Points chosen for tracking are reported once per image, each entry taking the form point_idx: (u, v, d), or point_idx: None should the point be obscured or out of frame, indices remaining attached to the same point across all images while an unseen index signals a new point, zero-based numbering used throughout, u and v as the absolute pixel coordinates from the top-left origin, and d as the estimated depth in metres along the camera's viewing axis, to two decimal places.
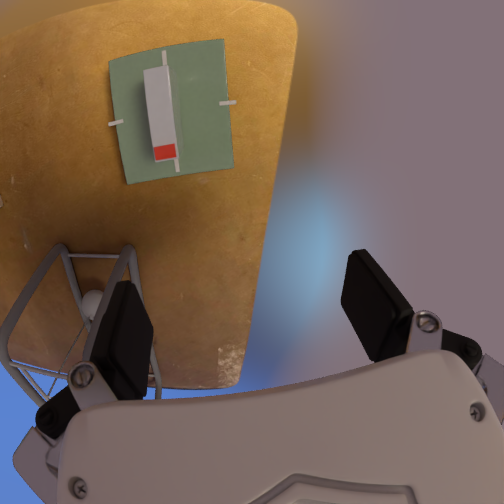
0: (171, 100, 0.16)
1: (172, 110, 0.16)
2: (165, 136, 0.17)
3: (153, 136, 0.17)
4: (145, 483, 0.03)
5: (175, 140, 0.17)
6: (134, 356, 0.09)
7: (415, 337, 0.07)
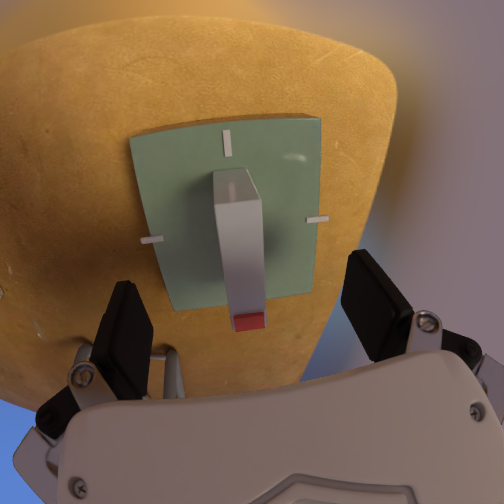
0: (263, 257, 0.12)
1: (264, 271, 0.12)
2: (250, 304, 0.13)
3: (232, 304, 0.13)
4: (145, 483, 0.03)
5: (264, 308, 0.13)
6: (134, 356, 0.09)
7: (415, 337, 0.07)
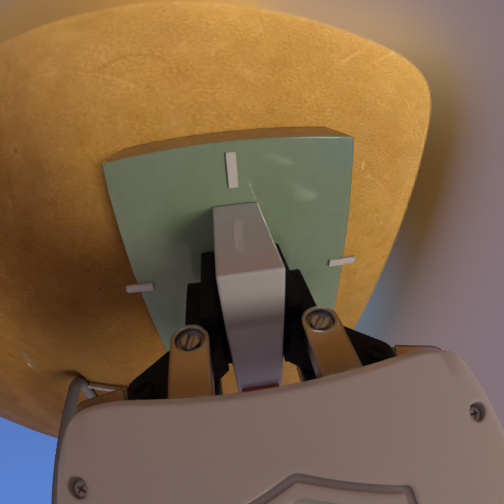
0: None
1: (282, 347, 0.09)
2: (263, 378, 0.10)
3: (241, 379, 0.10)
4: (145, 483, 0.03)
5: (280, 380, 0.10)
6: None
7: (316, 341, 0.07)
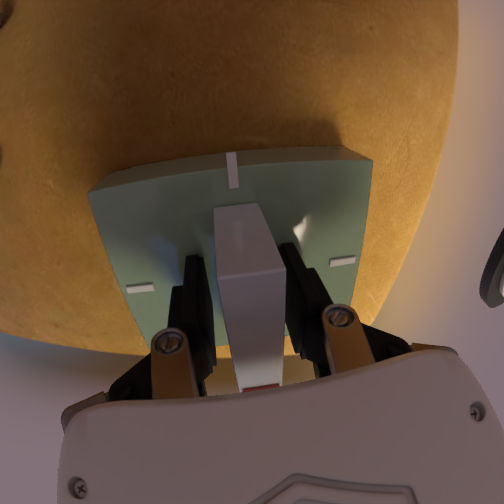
0: None
1: (282, 347, 0.09)
2: (264, 379, 0.10)
3: (242, 380, 0.10)
4: (145, 483, 0.03)
5: (280, 380, 0.10)
6: (209, 324, 0.10)
7: (334, 337, 0.07)
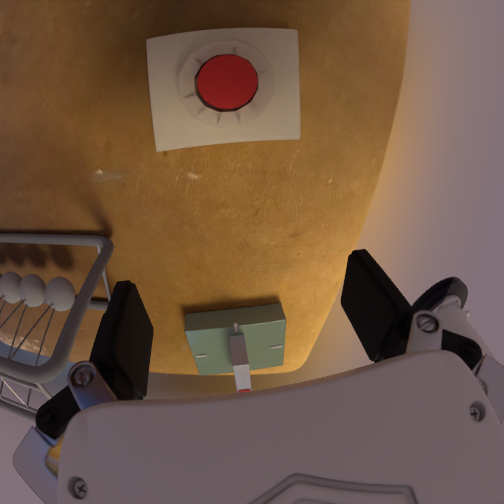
0: (249, 375, 0.29)
1: None
2: (245, 387, 0.31)
3: (238, 387, 0.30)
4: (145, 483, 0.03)
5: (250, 387, 0.31)
6: (134, 356, 0.09)
7: (415, 337, 0.07)
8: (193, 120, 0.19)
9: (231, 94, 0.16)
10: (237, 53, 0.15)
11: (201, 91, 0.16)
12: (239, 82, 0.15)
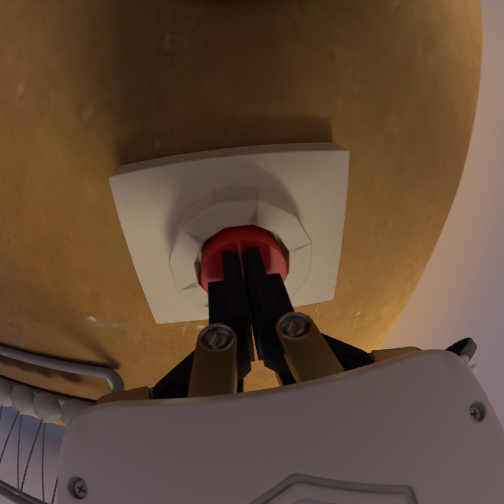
0: None
1: None
2: None
3: None
4: (145, 483, 0.03)
5: None
6: None
7: (293, 349, 0.07)
8: None
9: None
10: (259, 223, 0.12)
11: None
12: None
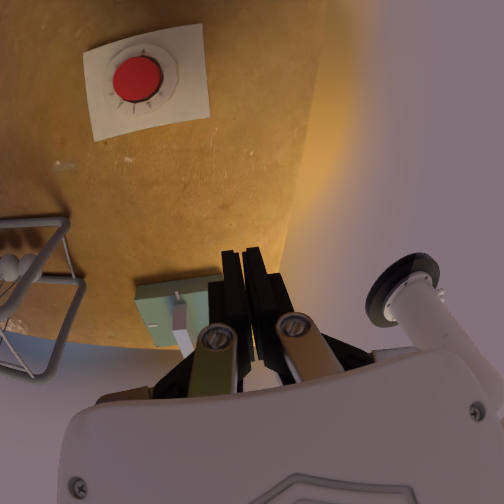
0: (191, 342, 0.32)
1: (192, 345, 0.32)
2: None
3: (183, 354, 0.33)
4: (145, 483, 0.03)
5: None
6: None
7: (293, 349, 0.07)
8: (120, 113, 0.21)
9: (138, 88, 0.18)
10: (145, 54, 0.17)
11: (116, 89, 0.17)
12: (143, 77, 0.17)
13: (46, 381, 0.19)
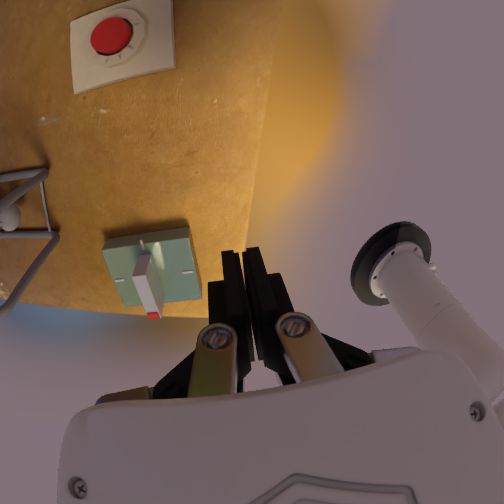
0: (151, 292, 0.30)
1: (153, 297, 0.31)
2: (152, 308, 0.32)
3: (145, 308, 0.31)
4: (145, 483, 0.03)
5: (158, 310, 0.32)
6: None
7: (293, 349, 0.07)
8: (96, 67, 0.20)
9: (110, 41, 0.17)
10: (119, 16, 0.16)
11: (92, 44, 0.16)
12: (115, 32, 0.16)
13: (2, 314, 0.17)
